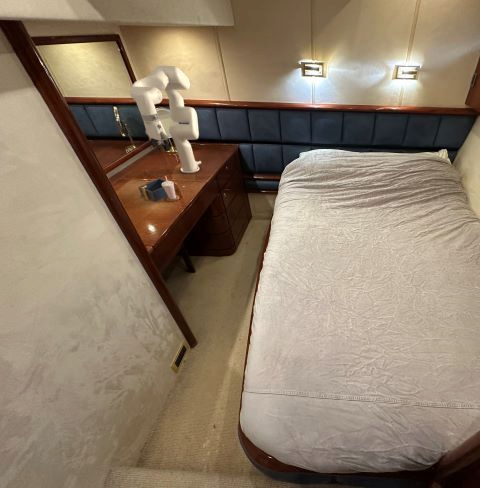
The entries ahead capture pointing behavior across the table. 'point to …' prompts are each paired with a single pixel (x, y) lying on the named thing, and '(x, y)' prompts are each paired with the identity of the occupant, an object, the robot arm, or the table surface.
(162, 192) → the drawer
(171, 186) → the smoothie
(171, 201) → the coaster
